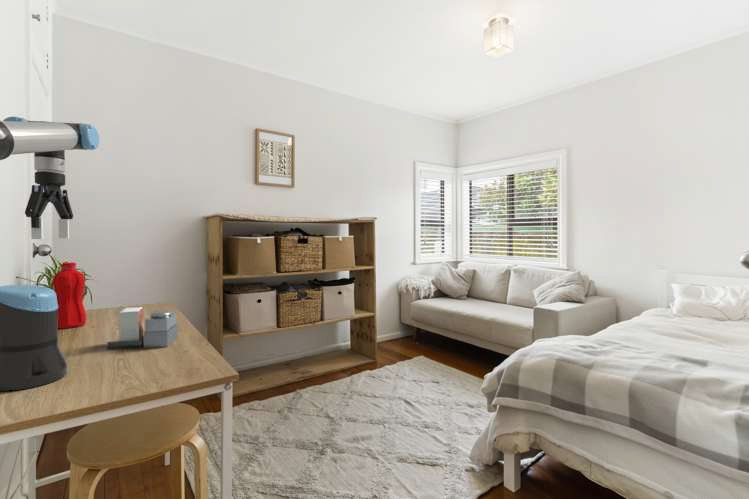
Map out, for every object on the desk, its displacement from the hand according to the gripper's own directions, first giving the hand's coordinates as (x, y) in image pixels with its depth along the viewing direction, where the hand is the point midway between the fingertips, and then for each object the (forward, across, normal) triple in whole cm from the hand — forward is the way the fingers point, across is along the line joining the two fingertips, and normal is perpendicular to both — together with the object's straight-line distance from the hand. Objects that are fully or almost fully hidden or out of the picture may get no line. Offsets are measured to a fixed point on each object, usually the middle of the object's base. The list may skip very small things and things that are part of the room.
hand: (51, 238), depth 124 cm
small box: (+34, -2, -24) cm, 42 cm away
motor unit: (+35, -2, -28) cm, 44 cm away
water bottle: (+35, +28, +10) cm, 46 cm away
